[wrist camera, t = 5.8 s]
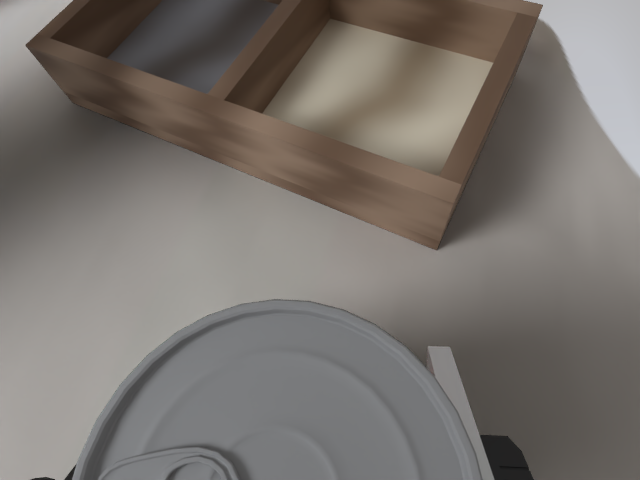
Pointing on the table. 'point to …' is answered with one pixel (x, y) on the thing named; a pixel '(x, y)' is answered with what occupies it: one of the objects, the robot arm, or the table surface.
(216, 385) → the canned tomato
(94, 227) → the table surface
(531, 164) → the table surface
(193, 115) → the slot caddy
